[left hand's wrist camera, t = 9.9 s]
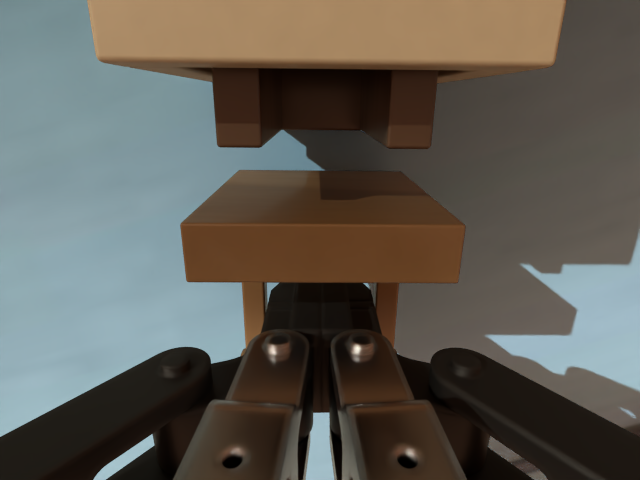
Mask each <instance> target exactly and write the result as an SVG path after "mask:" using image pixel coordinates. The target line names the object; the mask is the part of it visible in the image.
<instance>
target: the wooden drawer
mask: <svg viewBox="0 0 640 480" xmlns="http://www.w3.org/2000/svg"><path fill="white" fill-rule="evenodd" d="M437 80H438V70H388V69H299V68H212V82H213V95H214V109H215V123H216V136H217V145H218V146H219V147H248V148H260V147H262V146H263V145H264V144H265V143H266V142H268V141H269V140H270V139H271V138H272V137H273V136H275V135H276V134H277V133H278V132H279V131H280V130H361V131H363V132H364V133H366V134H367V135H369V136H370V137H372V138H373V139H375V140H376V141H378V142H379V143H381V144H382V145H384V146H385V147H387V148H389V149H428V148H430V146H431V140H432V130H433V120H434V110H435V100H436V90H437ZM180 227H181V236H182V245H183V254H184V263H185V272H186V280H187V282H242V292H243V308H244V325H245V342H246V348H245V349H243V351H242V353H241V356H242V355H244V353H245V351H246V349H247V346H248V344H249V342H250V341H251V340H252V339H253V338H254V337H255V336H257V335H259V334H260V333H261V330H262V326H263V322H264V318H265V314H266V310H267V306H268V304H267V282H281V283H374V286H373V301H374V305H375V309H376V313H377V317H378V320H379V324H380V328H381V332H382V335H383V336H385V337H386V338H387V339H388V340H389V341H390V342H391V344H392V346H393V349H394V338H395V326H396V314H397V302H398V290H399V283H458V280H459V272H460V265H461V258H462V250H463V243H464V235H465V228H466V227H465V225H464V224H463V223H462V222H461V221H460V220H458V219H457V218H456V217H455V216H454V215H452V214H451V213H450V212H449V211H448V210H446V209H445V208H444V207H443V206H442V205H440V204H439V203H438V202H437V201H436V200H435V199H433V198H432V197H431V196H430V195H429V194H427V193H426V192H425V191H424V190H423V189H421V188H420V187H419V186H418V185H417V184H415V183H414V182H413V181H412V180H411V179H409V178H408V177H407V176H406V175H405V174H403V173H402V172H401V171H297V170H239V171H238V172H237V173H235V174H234V175H233V176H232V177H231V178H230V179H229V180H228V181H227V182H226V183H225V184H223V185H222V186H221V187H220V188H219V189H218V190H217V191H216V192H215V193H214V194H212V195H211V196H210V197H209V198H208V199H207V200H206V201H205V202H204V203H203V204H201V205H200V206H199V207H198V208H197V209H196V210H195V211H194V212H193V213H192V214H191V215H189V216H188V217H187V218H186V219H185V220H184V221H183V222H182V223H181V225H180ZM394 351H395V353H397V352H396V350H395V349H394Z"/></svg>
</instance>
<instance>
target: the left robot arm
mask: <svg viewBox="0 0 640 480" xmlns="http://www.w3.org/2000/svg"><path fill="white" fill-rule="evenodd" d="M321 412H329V414H330V449H331V456H332V464H333V472H334V480H534V479H532V478H531V477H529V476H528V475H526V474H525V473H524V472H522V471H521V470H519V469H518V468H516V467H515V466H514V465H512V464H511V463H509V462H508V461H507V460H505V459H504V458H502V457H501V456H499V455H498V454H497V453H495V452H494V451H492V450H491V449H489V448H488V444H489V439H490V436H492V437H493V438H495V439H496V440H498V441H499V442H501V443H502V444H504V445H505V446H506V447H508V448H509V449H511V450H512V451H514V452H515V453H517V454H518V455H520V456H521V457H523V458H524V459H526V460H527V461H529V462H530V463H532V464H533V465H535V466H536V467H537V468H538V469H540V470H541V471H542V472H543V474H544V475H545V476H546V477H547V479H548V480H640V437H638V436H637V435H635V434H633V433H631V432H629V431H627V430H625V429H623V428H621V427H619V426H618V425H616V424H614V423H612V422H610V421H608V420H606V419H604V418H602V417H600V416H599V415H597V414H595V413H593V412H591V411H589V410H587V409H585V408H583V407H581V406H579V405H578V404H576V403H574V402H572V401H570V400H568V399H566V398H564V397H562V396H560V395H559V394H557V393H555V392H553V391H551V390H549V389H547V388H545V387H543V386H541V385H540V384H538V383H536V382H534V381H532V380H530V379H528V378H526V377H524V376H522V375H521V374H519V373H517V372H515V371H513V370H511V369H509V368H507V367H505V366H503V365H501V364H500V363H498V362H496V361H494V360H492V359H490V358H488V357H486V356H484V355H482V354H480V353H478V352H475V351H472V350H468V349H463V348H447V349H443V350H440V351H438V352H436V353H435V354H434V355H433V356H432V359H431V364H430V363H426V362H421V361H416V360H412V359H408V358H405V357H403V356H401V355H399V354H397V353H395V351H394V349H393V346H392V344H391V342H390V341H389V340H388V339H387V338H386V337H385V336H383V335H382V332H381V328H380V324H379V320H378V317H377V313H376V309H375V305H374V301H373V297H372V293H371V290H370V289H369V288H368V287H366V286H365V285H364V284H363V283H281V282H280V283H279V284H278V285H277V286H276V287H274V288H273V289H272V290H271V294H270V298H269V302H268V306H267V310H266V314H265V318H264V322H263V326H262V330H261V333H260V334H259V335H257V336H255V337H254V338H253V339H252V340H251V341H250V342H249V344H248V346H247V349H246V351H245V353H244V355H242V356H240V357H238V358H235V359H231V360H227V361H223V362H218V363H213V364H211V360H210V357H209V355H208V354H207V353H206V352H205V351H203V350H201V349H198V348H193V347H179V348H174V349H170V350H167V351H164V352H162V353H159V354H157V355H155V356H154V357H152V358H150V359H148V360H146V361H144V362H142V363H140V364H138V365H136V366H135V367H133V368H131V369H129V370H127V371H125V372H123V373H121V374H119V375H117V376H116V377H114V378H112V379H110V380H108V381H106V382H104V383H102V384H100V385H98V386H97V387H95V388H93V389H91V390H89V391H87V392H85V393H83V394H81V395H79V396H77V397H76V398H74V399H72V400H70V401H68V402H66V403H64V404H62V405H60V406H58V407H57V408H55V409H53V410H51V411H49V412H47V413H45V414H43V415H41V416H39V417H38V418H36V419H34V420H32V421H30V422H28V423H26V424H24V425H22V426H20V427H19V428H17V429H15V430H13V431H11V432H9V433H7V434H5V435H3V436H1V437H0V480H93V479H94V477H95V476H96V475H97V473H98V472H99V471H100V470H101V469H102V468H103V467H104V466H106V465H107V464H108V463H110V462H111V461H113V460H114V459H116V458H117V457H119V456H120V455H122V454H123V453H125V452H126V451H127V450H129V449H130V448H132V447H133V446H135V445H136V444H138V443H139V442H141V441H142V440H144V439H145V438H147V437H148V436H150V435H151V434H153V439H154V444H155V446H153V447H152V448H150V449H149V450H148V451H146V452H145V453H143V454H142V455H140V456H139V457H138V458H136V459H135V460H133V461H132V462H130V463H129V464H128V465H126V466H125V467H123V468H122V469H121V470H119V471H118V472H116V473H115V474H113V475H112V476H111V477H109V478H108V479H106V480H305V479H306V471H307V464H308V456H309V448H310V431H311V429H312V426H313V413H321Z"/></svg>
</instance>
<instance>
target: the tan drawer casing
mask: <svg viewBox="0 0 640 480" xmlns="http://www.w3.org/2000/svg"><path fill="white" fill-rule="evenodd" d="M566 1H567V0H87V2H88V8H89V14H90V20H91V27H92V33H93V39H94V45H95V52H96V56H97V58H98V60H99V61H101V62H103V63H108V64H113V65H119V66H125V67H131V68H136V69H142V70H147V71H153V72H159V73H164V74H170V75H176V76H181V77H187V78H193V79H198V80H204V81H209V82H212V68H299V69H388V70H438V80H437V83H444V82H451V81H458V80H466V79H473V78H480V77H487V76H495V75H502V74H509V73H516V72H522V71H529V70H536V69H543V68H548V67H550V66H552V65H553V64H554V62H555V60H556V55H557V49H558V44H559V38H560V33H561V28H562V22H563V17H564V12H565V6H566Z"/></svg>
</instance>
